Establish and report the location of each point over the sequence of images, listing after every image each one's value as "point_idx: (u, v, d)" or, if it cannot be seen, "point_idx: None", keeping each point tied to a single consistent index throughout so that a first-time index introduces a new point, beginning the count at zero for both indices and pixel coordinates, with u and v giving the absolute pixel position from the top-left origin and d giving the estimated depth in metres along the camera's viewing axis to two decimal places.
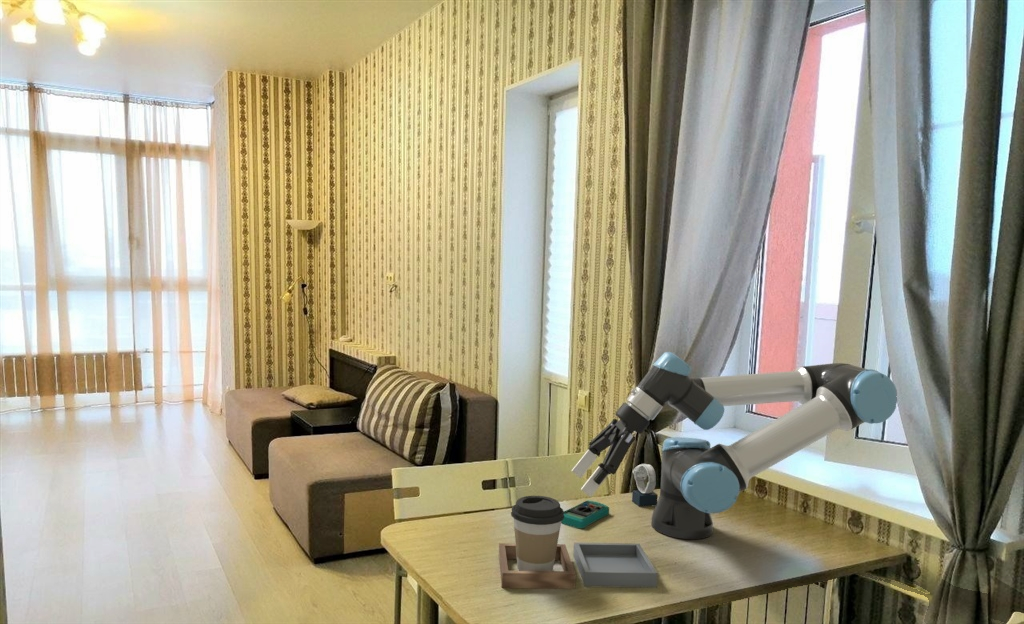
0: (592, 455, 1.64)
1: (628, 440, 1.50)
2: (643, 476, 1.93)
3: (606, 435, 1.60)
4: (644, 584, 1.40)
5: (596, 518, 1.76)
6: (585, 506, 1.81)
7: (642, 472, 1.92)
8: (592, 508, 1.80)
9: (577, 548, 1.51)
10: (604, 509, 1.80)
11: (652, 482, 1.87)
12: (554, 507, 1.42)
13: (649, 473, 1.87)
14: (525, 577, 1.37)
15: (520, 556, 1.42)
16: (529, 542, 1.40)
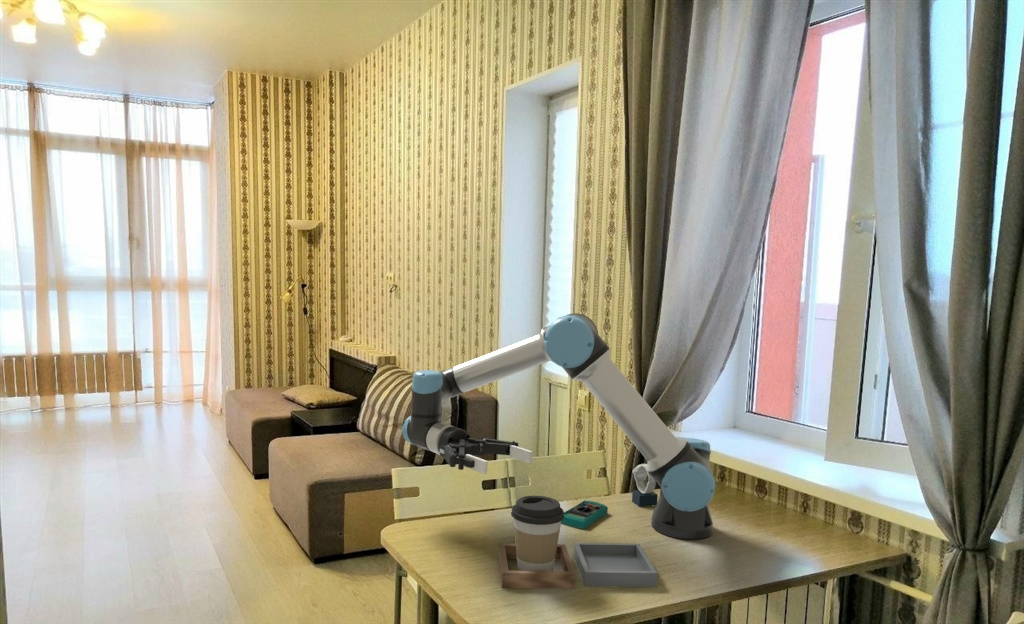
0: (511, 451, 1.59)
1: (442, 451, 1.56)
2: (643, 476, 1.93)
3: (481, 453, 1.61)
4: (644, 584, 1.40)
5: (596, 518, 1.76)
6: (584, 506, 1.81)
7: (642, 472, 1.92)
8: (591, 508, 1.80)
9: (577, 548, 1.51)
10: (603, 508, 1.80)
11: (652, 482, 1.87)
12: (554, 507, 1.42)
13: (649, 473, 1.87)
14: (525, 577, 1.37)
15: (520, 556, 1.42)
16: (529, 542, 1.40)
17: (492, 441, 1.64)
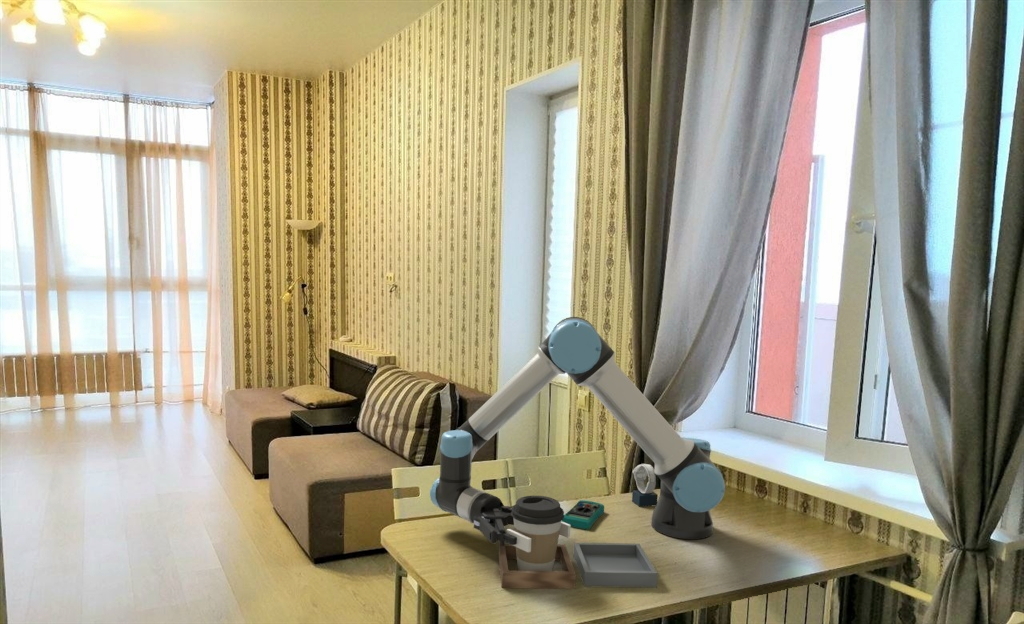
0: None
1: (477, 523, 1.48)
2: (643, 476, 1.93)
3: None
4: (644, 584, 1.40)
5: (596, 517, 1.77)
6: (582, 506, 1.81)
7: (642, 472, 1.92)
8: (590, 508, 1.80)
9: (577, 548, 1.51)
10: (601, 508, 1.81)
11: (652, 482, 1.87)
12: (554, 507, 1.42)
13: (649, 473, 1.87)
14: (525, 577, 1.37)
15: (520, 556, 1.42)
16: None
17: None
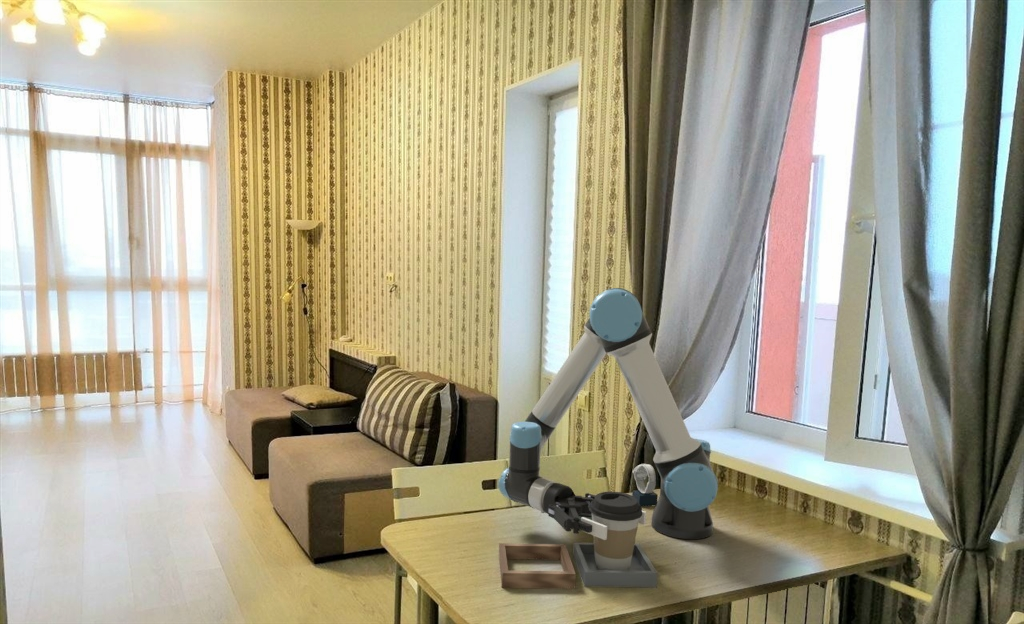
0: None
1: (552, 511, 1.51)
2: (643, 476, 1.93)
3: (589, 512, 1.55)
4: (644, 584, 1.40)
5: None
6: None
7: (642, 472, 1.92)
8: None
9: (577, 548, 1.51)
10: None
11: (652, 482, 1.87)
12: (633, 503, 1.44)
13: (649, 473, 1.87)
14: (525, 577, 1.37)
15: (599, 551, 1.44)
16: (610, 538, 1.42)
17: None
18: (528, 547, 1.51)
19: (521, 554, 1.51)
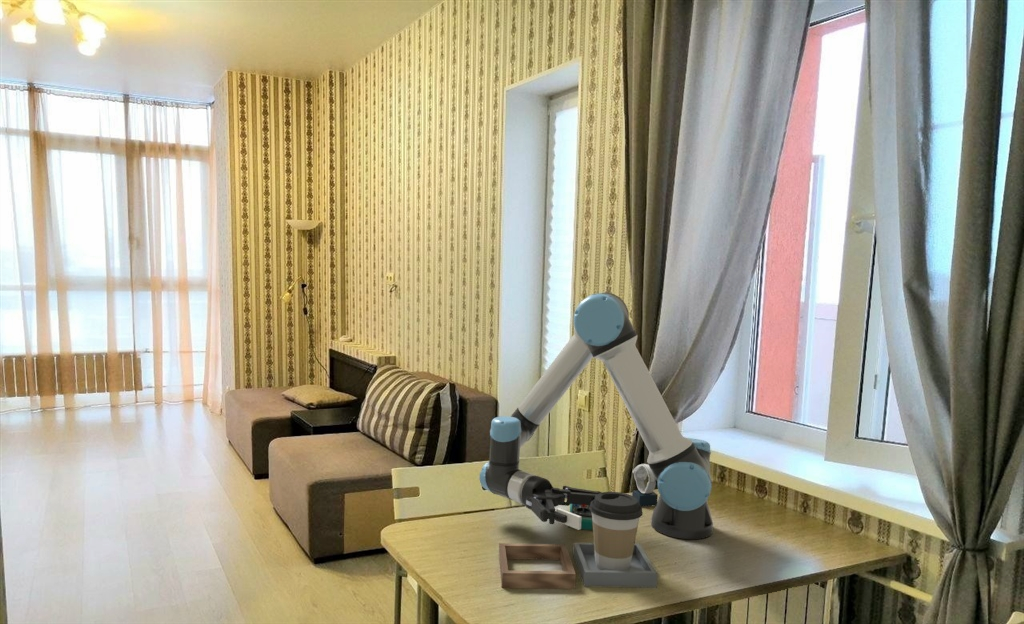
0: None
1: (529, 503, 1.55)
2: (643, 476, 1.93)
3: (566, 504, 1.60)
4: (644, 584, 1.40)
5: None
6: (578, 507, 1.80)
7: (642, 472, 1.92)
8: (586, 507, 1.80)
9: (577, 548, 1.51)
10: None
11: (652, 482, 1.87)
12: (633, 503, 1.44)
13: (649, 473, 1.87)
14: (525, 577, 1.37)
15: (599, 551, 1.45)
16: (610, 537, 1.42)
17: (575, 490, 1.63)
18: (528, 547, 1.51)
19: (521, 554, 1.51)
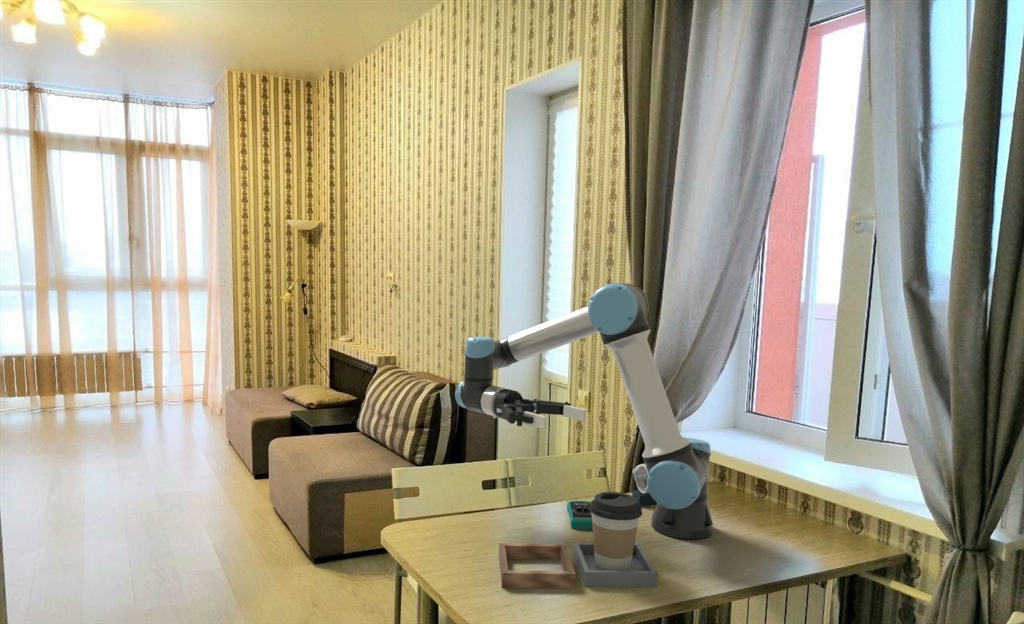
0: (564, 410, 1.66)
1: (499, 410, 1.63)
2: (643, 476, 1.93)
3: (535, 414, 1.68)
4: (644, 584, 1.40)
5: None
6: (577, 507, 1.80)
7: (642, 472, 1.92)
8: (585, 507, 1.80)
9: (577, 548, 1.51)
10: None
11: None
12: (633, 503, 1.44)
13: None
14: (525, 577, 1.37)
15: (599, 551, 1.45)
16: (610, 537, 1.42)
17: (545, 402, 1.71)
18: (528, 547, 1.51)
19: (521, 554, 1.51)
